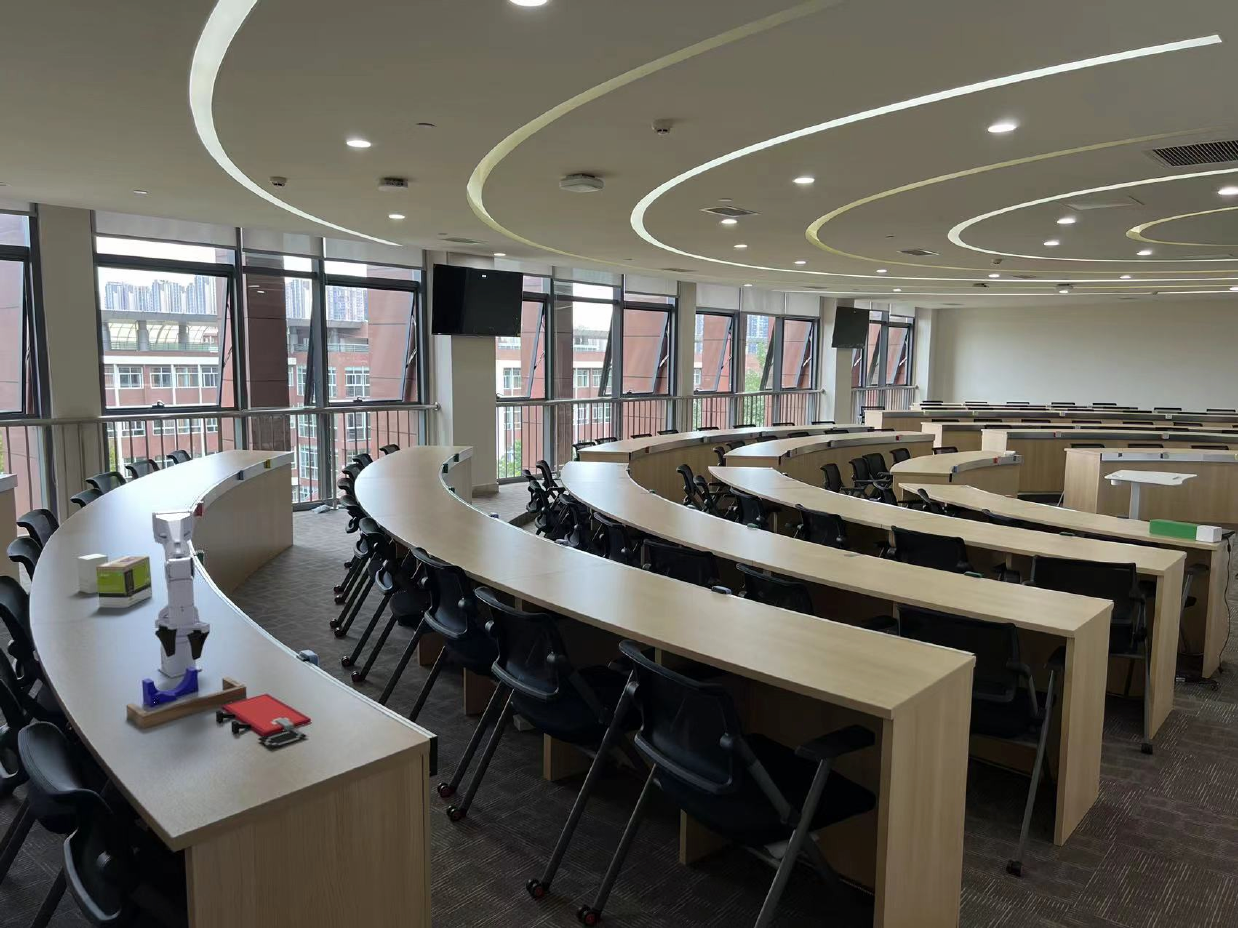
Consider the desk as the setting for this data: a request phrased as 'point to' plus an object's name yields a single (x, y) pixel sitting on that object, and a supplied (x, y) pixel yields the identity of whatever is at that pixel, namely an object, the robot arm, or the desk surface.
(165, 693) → the blue curved bracket
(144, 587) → the tea box
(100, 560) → the supplement box
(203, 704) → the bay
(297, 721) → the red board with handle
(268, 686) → the desk surface
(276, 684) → the desk surface
